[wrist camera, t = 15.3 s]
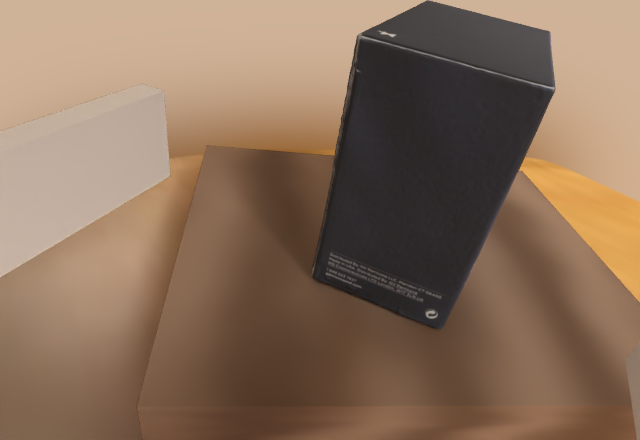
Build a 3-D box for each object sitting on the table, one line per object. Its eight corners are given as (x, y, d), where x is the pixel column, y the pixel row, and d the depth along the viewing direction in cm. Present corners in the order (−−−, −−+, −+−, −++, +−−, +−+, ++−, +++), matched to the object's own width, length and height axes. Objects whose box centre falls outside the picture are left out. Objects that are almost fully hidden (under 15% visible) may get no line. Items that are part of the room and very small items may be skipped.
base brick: (501, 216, 34) (522, 171, 32) (670, 456, 19) (730, 405, 17) (207, 197, 31) (206, 145, 28) (148, 467, 16) (136, 406, 14)
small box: (450, 340, 18) (571, 86, 12) (305, 281, 19) (345, 31, 13) (479, 213, 26) (559, 25, 20) (375, 179, 28) (420, -4, 22)
